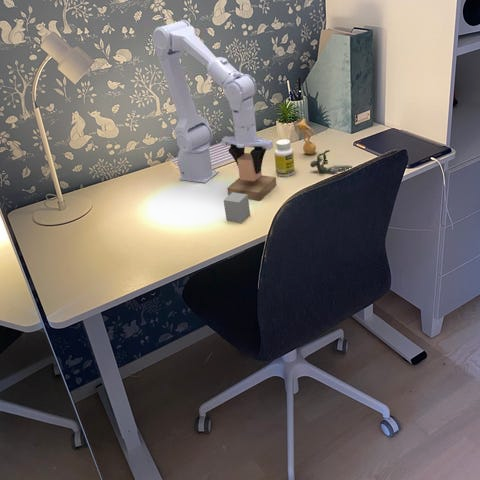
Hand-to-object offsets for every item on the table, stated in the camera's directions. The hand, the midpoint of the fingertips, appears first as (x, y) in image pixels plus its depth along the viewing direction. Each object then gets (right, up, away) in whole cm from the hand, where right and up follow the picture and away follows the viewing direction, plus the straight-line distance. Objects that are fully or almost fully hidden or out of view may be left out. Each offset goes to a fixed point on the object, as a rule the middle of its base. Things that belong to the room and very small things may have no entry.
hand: (250, 171), depth 150 cm
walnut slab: (+1, -5, +3) cm, 6 cm away
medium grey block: (-3, -13, -10) cm, 17 cm away
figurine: (+18, +7, +20) cm, 28 cm away
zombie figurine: (+25, 0, +7) cm, 26 cm away
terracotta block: (0, -1, +1) cm, 2 cm away
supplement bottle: (+11, +1, +10) cm, 15 cm away
